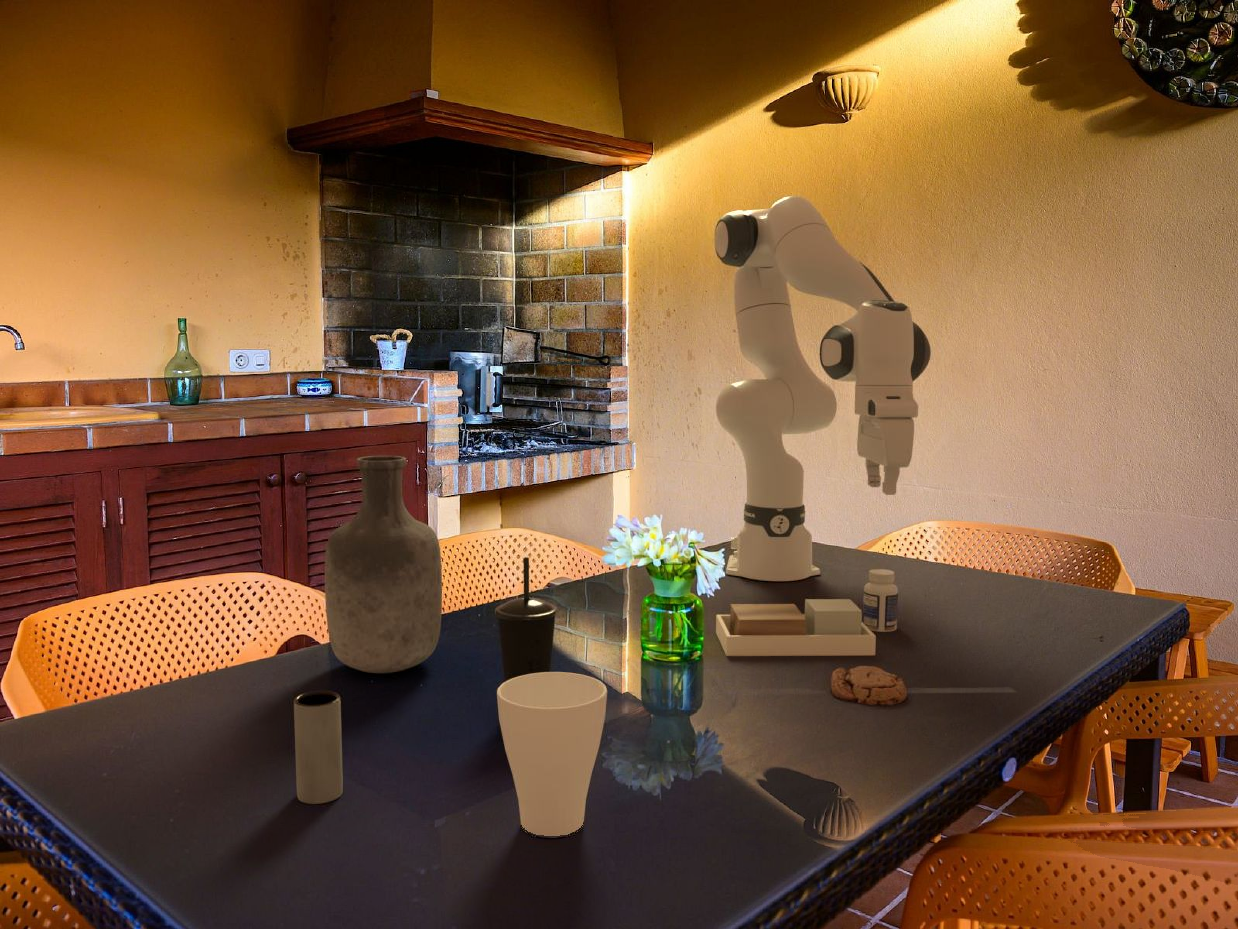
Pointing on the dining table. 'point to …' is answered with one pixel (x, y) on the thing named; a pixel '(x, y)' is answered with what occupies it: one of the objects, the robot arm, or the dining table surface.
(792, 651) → the box
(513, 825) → the dining table surface
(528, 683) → the cup
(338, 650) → the vase
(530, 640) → the drinking cup
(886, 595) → the pill bottle
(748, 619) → the walnut block
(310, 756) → the planter
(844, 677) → the cookie
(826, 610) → the pale green block
